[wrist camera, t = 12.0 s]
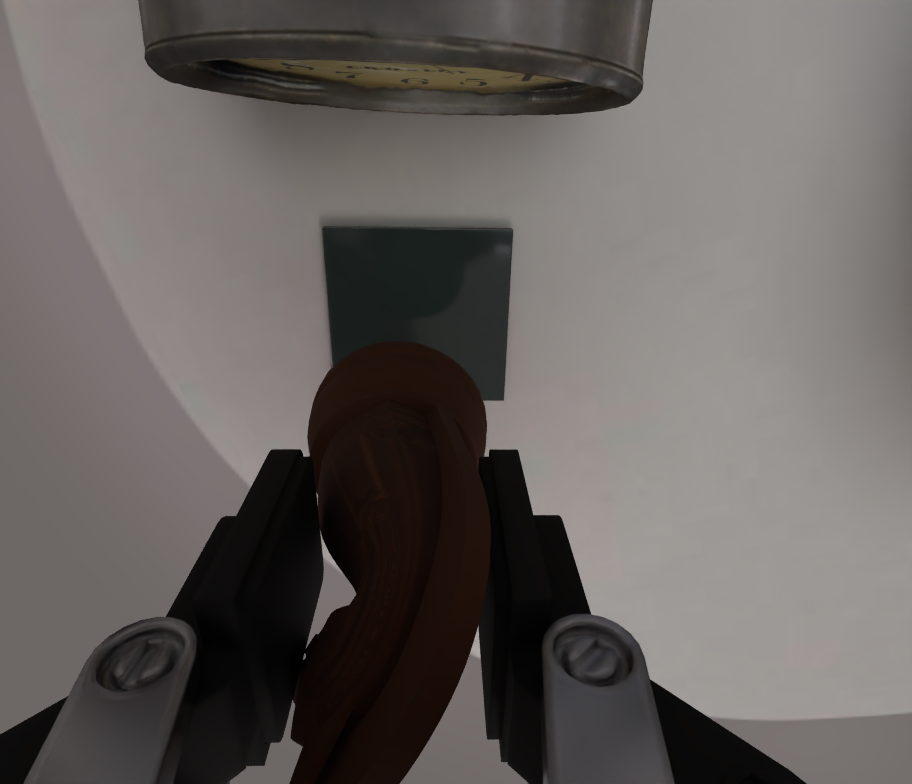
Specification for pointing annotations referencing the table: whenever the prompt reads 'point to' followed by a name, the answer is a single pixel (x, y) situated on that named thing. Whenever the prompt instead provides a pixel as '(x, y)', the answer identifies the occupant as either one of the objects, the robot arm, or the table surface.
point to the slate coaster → (423, 293)
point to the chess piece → (392, 559)
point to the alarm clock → (406, 52)
